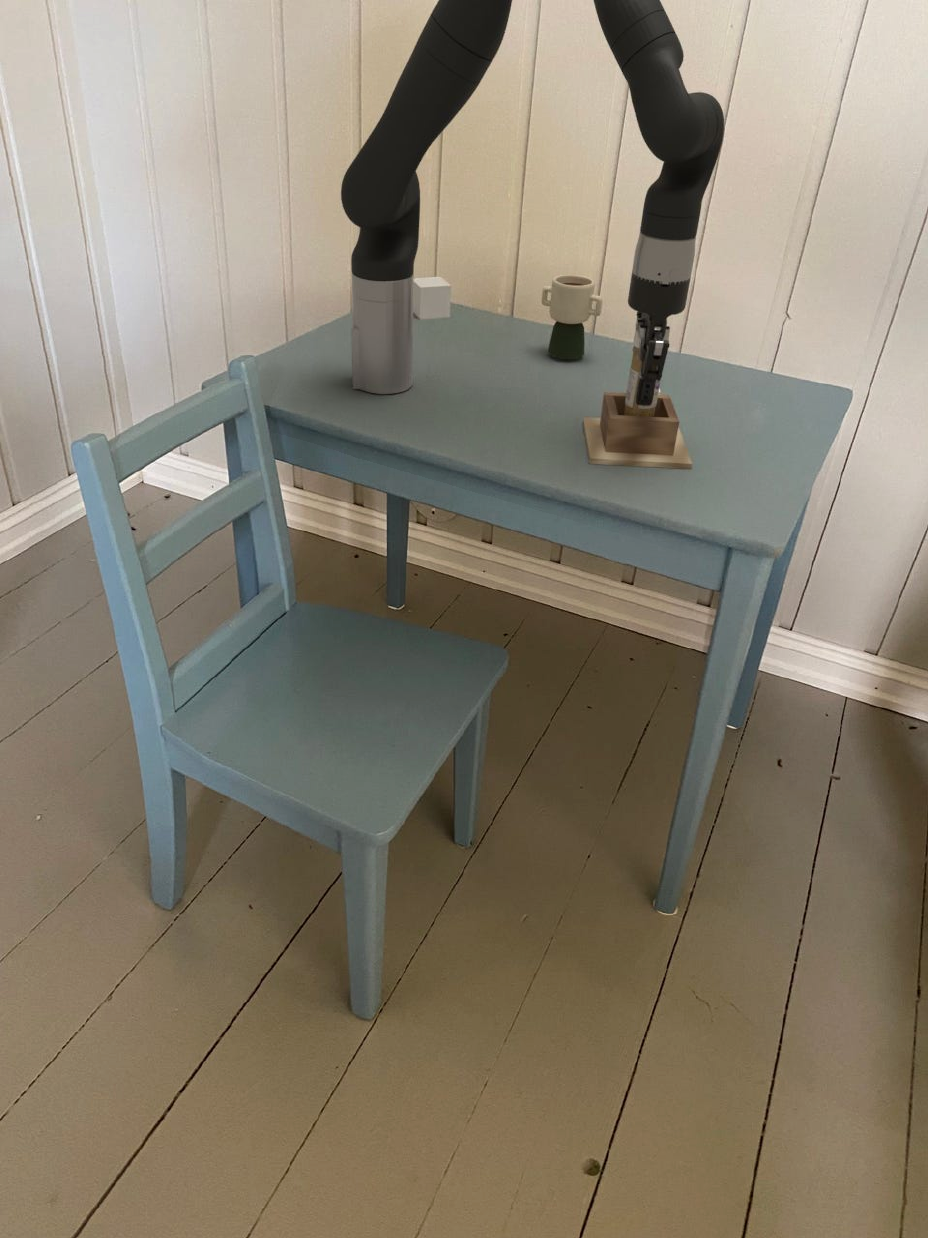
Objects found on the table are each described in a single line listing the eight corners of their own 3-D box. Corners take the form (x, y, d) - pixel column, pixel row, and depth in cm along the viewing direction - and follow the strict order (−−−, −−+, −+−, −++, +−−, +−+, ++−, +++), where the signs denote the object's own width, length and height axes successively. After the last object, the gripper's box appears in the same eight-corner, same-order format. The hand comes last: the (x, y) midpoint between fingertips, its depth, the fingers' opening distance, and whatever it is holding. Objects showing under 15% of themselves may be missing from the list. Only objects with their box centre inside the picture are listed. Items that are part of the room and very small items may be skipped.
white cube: (439, 308, 181) (440, 276, 178) (450, 317, 177) (451, 285, 173) (410, 310, 179) (410, 278, 176) (420, 319, 175) (420, 287, 171)
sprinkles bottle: (650, 434, 129) (667, 339, 121) (618, 429, 130) (632, 334, 122) (655, 422, 133) (671, 328, 125) (623, 416, 134) (638, 324, 126)
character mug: (602, 356, 162) (612, 280, 155) (586, 369, 157) (596, 290, 150) (545, 344, 166) (552, 269, 159) (528, 355, 161) (535, 279, 154)
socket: (589, 463, 127) (594, 424, 124) (582, 422, 139) (587, 384, 136) (691, 468, 127) (699, 429, 124) (675, 426, 139) (682, 389, 135)
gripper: (626, 254, 125) (609, 377, 135) (639, 285, 113) (619, 416, 123) (682, 257, 125) (661, 379, 135) (700, 288, 113) (675, 419, 123)
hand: (641, 396), depth 129 cm, fingers closed on sprinkles bottle, 4 cm apart
